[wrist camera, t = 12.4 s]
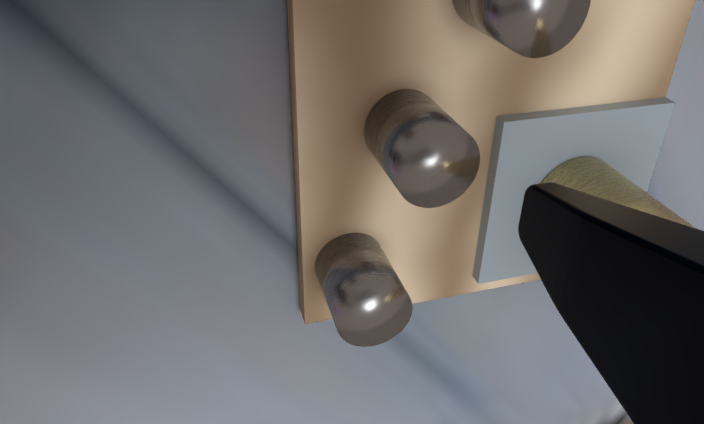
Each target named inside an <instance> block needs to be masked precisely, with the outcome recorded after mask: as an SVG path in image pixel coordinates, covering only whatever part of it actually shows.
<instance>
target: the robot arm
mask: <svg viewBox="0 0 704 424" xmlns="http://www.w3.org/2000/svg"><path fill="white" fill-rule="evenodd" d="M518 233H519V237H520V240H521V242H522V244H523V246H524V248H525V250H526V252H527V254H528V256H529V258H530V259H531V261H532V263H533V265H534V267H535V269H536V271H537V273H538V275H539V276H540V278H541V280H542V282H543V284H544V286H545V288H546V290H547V292H548V294H549V295H550V297H551V299H552V301H553V303H554V304H555V306H556V308H557V310H558V311H559V313H560V314H561V316H562V318H563V319H564V321H565V322H566V324H567V325H568V327H569V328H570V330H571V331H572V333H573V334H574V336H575V337H576V339H577V340H578V341H579V343H580V344H581V346H582V347H583V349H584V350H585V352H586V353H587V355H588V356H589V358H590V359H591V361H592V362H593V364H594V365H595V367H596V368H597V370H598V371H599V373H600V374H601V375H602V377H603V378H604V380H605V381H606V383H607V384H608V386H609V387H610V389H611V390H612V392H613V393H614V395H615V396H616V398H617V399H618V401H619V402H620V404H621V405H622V407H623V408H624V410H625V411H626V412H627V414H628V415H629V417H630V418H631V420H632V421H633V423H634V424H704V231H702V230H698V229H695V228H692V227H689V226H686V225H683V224H680V223H677V222H674V221H671V220H668V219H665V218H661V217H658V216H655V215H652V214H649V213H646V212H643V211H640V210H637V209H634V208H631V207H628V206H624V205H621V204H618V203H615V202H612V201H609V200H606V199H603V198H600V197H597V196H594V195H591V194H587V193H584V192H581V191H578V190H575V189H572V188H569V187H566V186H563V185H560V184H557V183H553V182H546V183H540V184H533V185H530V186H529V187H528V188H527V189H526V191H525V194H524V199H523V204H522V209H521V214H520V219H519V225H518Z"/></svg>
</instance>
